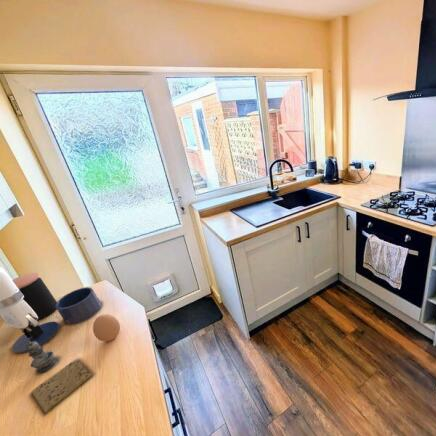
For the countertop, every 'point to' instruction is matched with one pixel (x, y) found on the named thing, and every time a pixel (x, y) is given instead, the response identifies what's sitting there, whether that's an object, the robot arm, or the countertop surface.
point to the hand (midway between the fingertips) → (35, 335)
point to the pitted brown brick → (60, 385)
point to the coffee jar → (36, 294)
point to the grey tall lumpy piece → (40, 357)
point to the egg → (106, 327)
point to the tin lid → (48, 332)
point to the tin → (78, 305)
